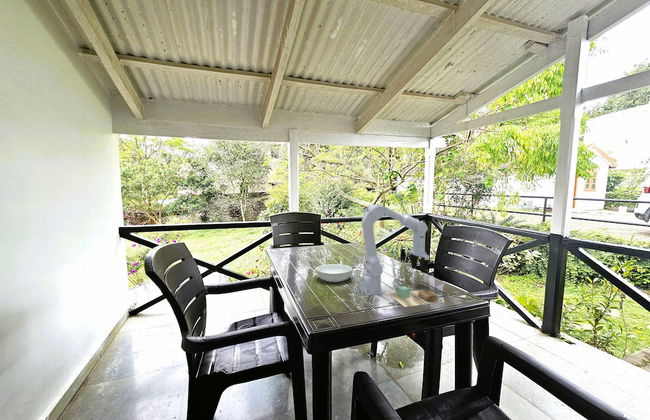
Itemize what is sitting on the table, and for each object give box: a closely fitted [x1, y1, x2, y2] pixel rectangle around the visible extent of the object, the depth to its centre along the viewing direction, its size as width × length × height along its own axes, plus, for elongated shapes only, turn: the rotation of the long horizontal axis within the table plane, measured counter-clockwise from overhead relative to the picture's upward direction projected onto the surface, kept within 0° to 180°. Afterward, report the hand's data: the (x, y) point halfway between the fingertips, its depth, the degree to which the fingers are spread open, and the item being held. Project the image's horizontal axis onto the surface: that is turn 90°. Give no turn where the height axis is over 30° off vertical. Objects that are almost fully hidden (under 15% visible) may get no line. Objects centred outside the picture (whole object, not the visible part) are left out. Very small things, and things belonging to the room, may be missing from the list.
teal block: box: [397, 285, 411, 298], centre depth 130 cm, size 4×4×4 cm
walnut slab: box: [418, 290, 439, 302], centre depth 127 cm, size 6×6×2 cm
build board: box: [387, 289, 445, 308], centre depth 128 cm, size 20×16×1 cm
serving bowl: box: [315, 263, 353, 283], centre depth 158 cm, size 21×21×7 cm
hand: (418, 270), depth 141 cm, fingers open, 7 cm apart
